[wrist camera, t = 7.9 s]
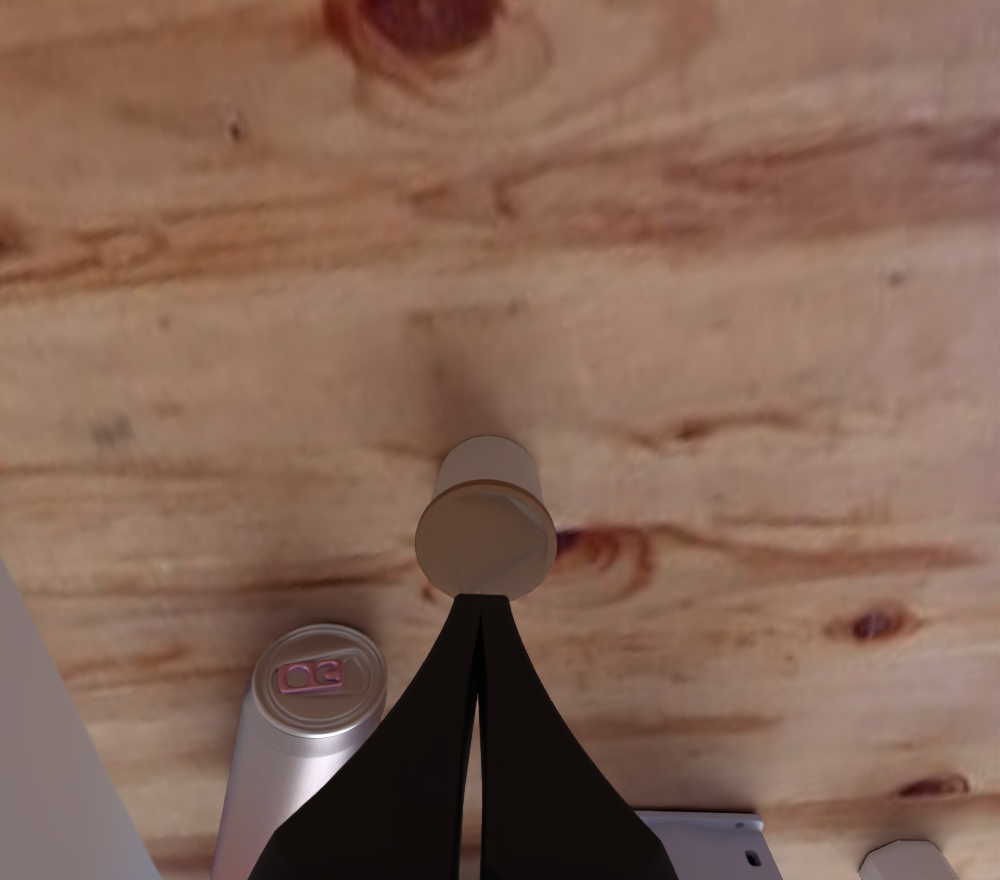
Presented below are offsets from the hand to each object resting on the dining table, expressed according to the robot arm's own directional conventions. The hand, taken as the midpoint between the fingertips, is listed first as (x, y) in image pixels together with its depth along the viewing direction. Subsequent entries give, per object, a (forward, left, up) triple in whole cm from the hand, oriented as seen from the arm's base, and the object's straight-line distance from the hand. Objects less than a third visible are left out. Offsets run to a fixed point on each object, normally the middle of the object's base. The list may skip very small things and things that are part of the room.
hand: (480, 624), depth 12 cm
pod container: (0, 0, -8) cm, 8 cm away
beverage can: (+11, +23, -5) cm, 26 cm away
